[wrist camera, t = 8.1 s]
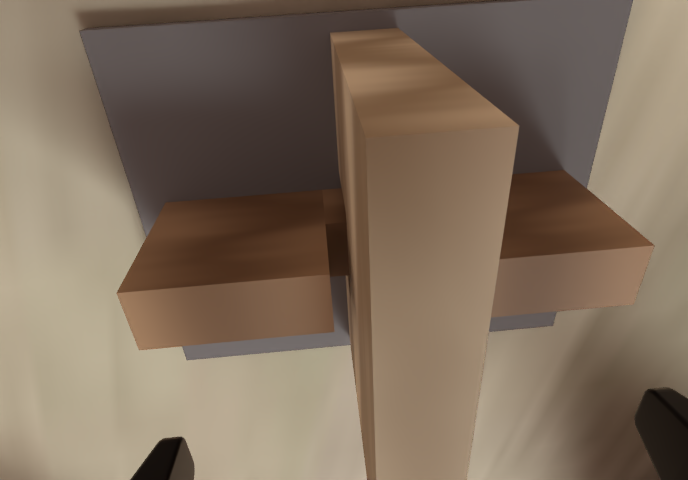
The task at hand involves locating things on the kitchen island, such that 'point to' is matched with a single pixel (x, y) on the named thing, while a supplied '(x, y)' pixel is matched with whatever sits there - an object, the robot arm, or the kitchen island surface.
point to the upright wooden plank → (418, 247)
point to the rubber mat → (319, 108)
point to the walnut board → (332, 260)
